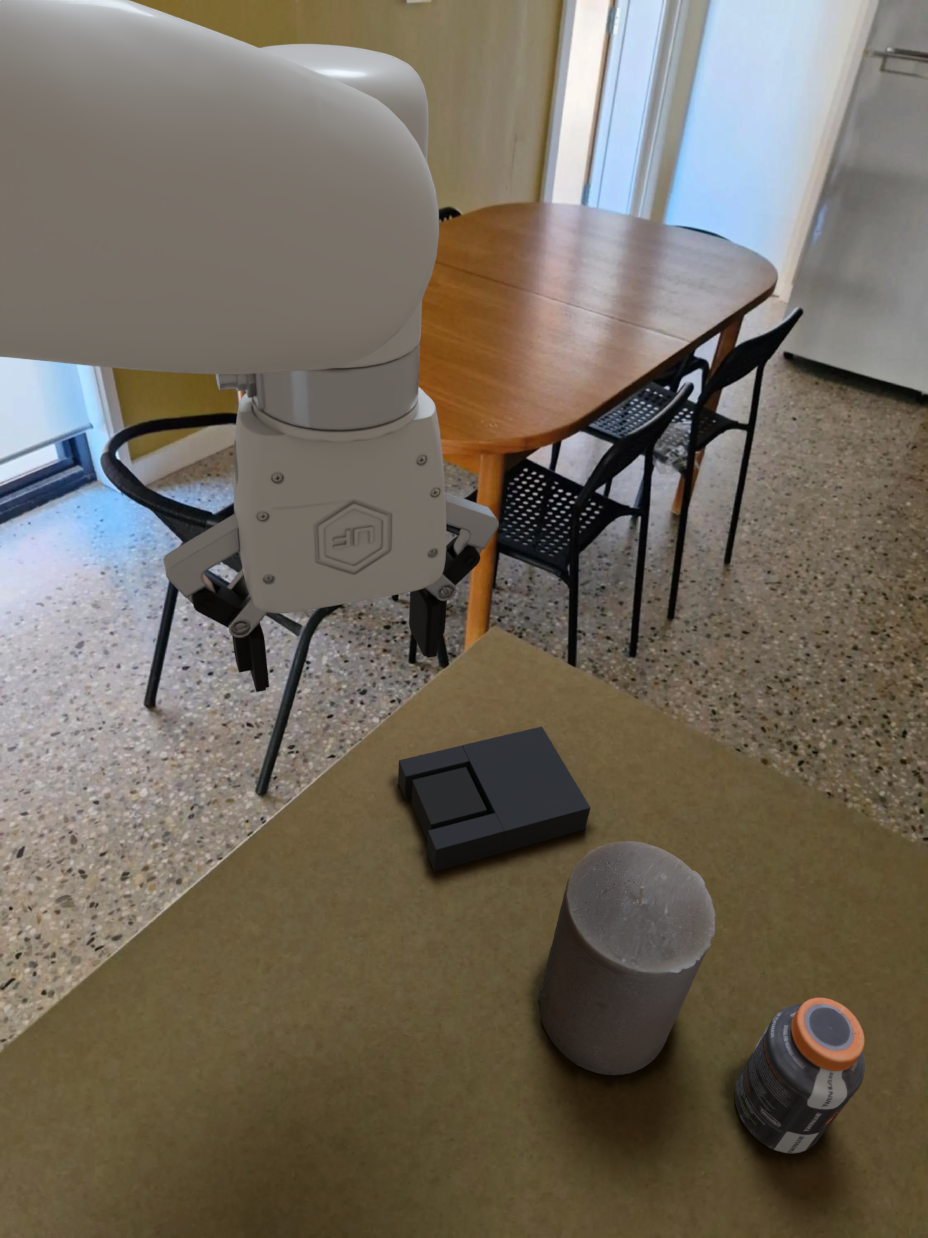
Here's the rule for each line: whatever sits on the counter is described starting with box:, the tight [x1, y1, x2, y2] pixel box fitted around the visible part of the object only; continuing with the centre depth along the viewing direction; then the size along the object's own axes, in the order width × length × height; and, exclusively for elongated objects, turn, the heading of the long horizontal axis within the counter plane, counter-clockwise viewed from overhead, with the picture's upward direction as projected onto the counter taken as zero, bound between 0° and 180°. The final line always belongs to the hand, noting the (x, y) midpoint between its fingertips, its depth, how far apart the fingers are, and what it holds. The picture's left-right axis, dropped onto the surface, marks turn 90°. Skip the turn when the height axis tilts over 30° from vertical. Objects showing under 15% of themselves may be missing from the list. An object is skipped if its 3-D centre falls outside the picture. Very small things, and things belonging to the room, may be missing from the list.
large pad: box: [397, 726, 591, 872], centre depth 78 cm, size 14×10×3 cm
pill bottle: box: [734, 997, 866, 1154], centre depth 57 cm, size 6×6×11 cm
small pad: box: [410, 767, 487, 841], centre depth 77 cm, size 5×5×3 cm
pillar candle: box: [537, 840, 717, 1076], centre depth 60 cm, size 10×10×15 cm
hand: (342, 658), depth 51 cm, fingers open, 9 cm apart
